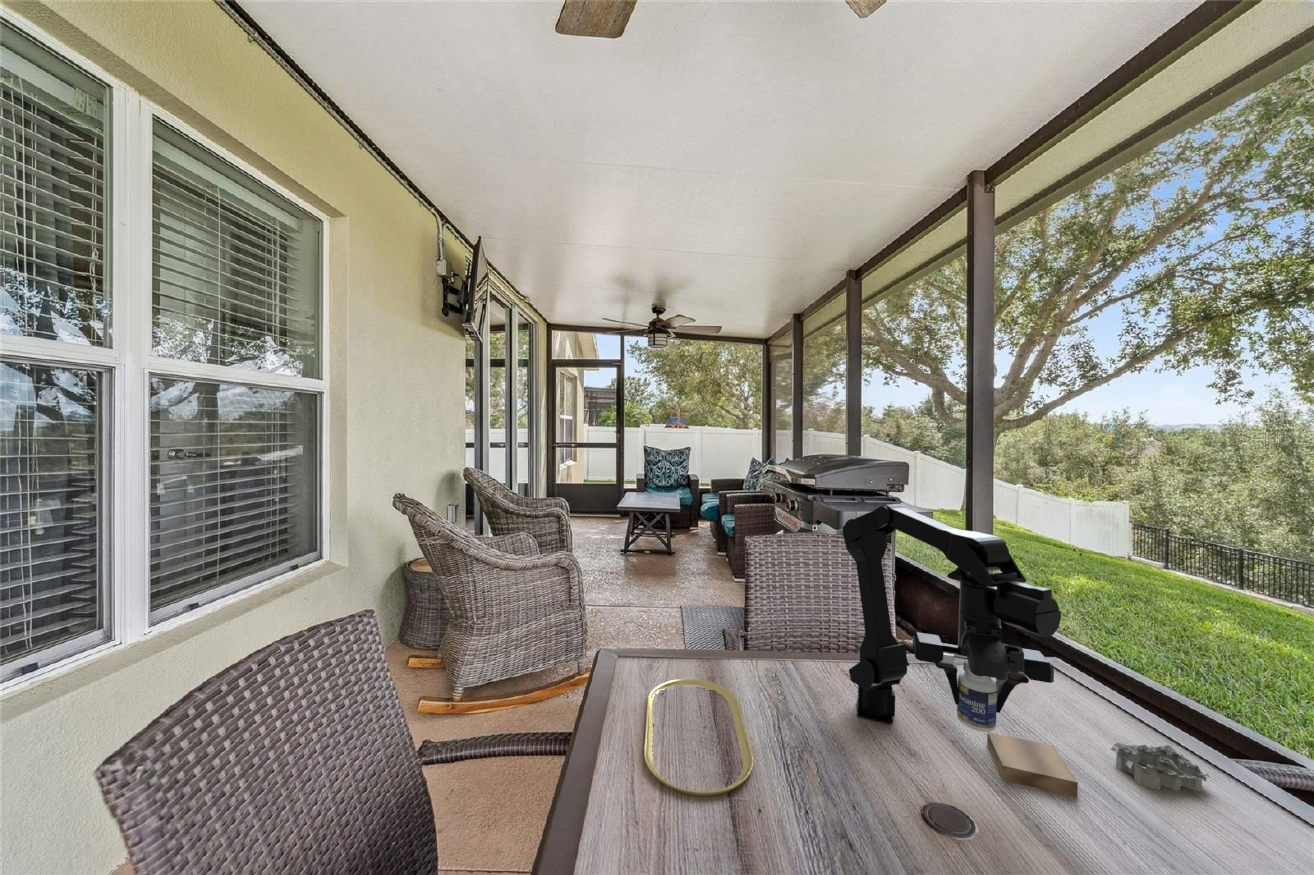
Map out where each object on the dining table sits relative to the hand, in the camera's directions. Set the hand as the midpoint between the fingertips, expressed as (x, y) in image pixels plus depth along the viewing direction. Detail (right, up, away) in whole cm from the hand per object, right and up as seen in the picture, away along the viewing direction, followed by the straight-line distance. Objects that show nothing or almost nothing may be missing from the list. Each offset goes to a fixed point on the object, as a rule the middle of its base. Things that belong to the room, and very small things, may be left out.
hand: (976, 707), depth 81 cm
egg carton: (+32, -14, +3) cm, 35 cm away
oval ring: (-45, -12, +13) cm, 48 cm away
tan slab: (+11, -13, +4) cm, 17 cm away
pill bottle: (0, -3, 0) cm, 3 cm away
